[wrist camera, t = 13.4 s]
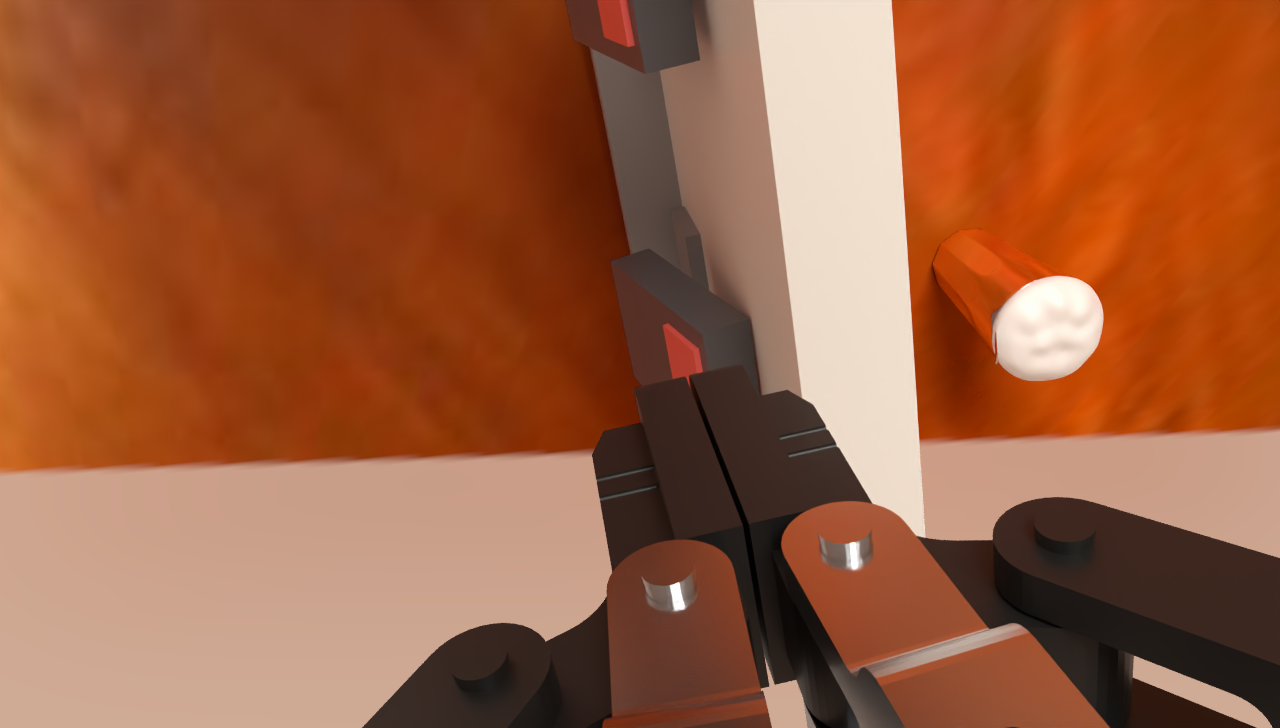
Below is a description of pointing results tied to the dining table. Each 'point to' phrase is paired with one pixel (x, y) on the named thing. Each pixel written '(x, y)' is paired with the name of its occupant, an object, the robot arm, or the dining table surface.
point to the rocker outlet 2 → (677, 322)
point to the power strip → (787, 208)
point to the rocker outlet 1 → (637, 31)
